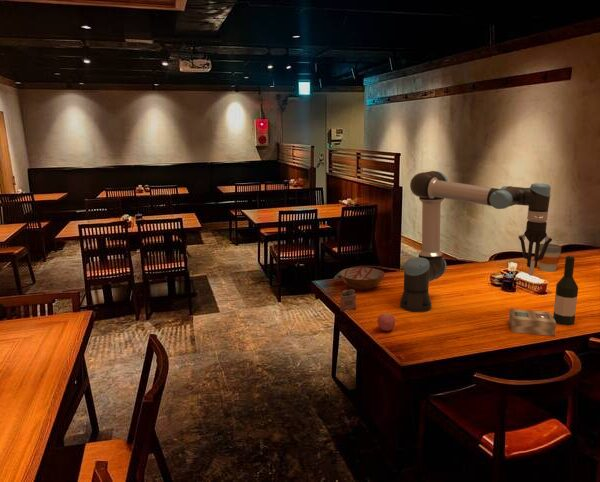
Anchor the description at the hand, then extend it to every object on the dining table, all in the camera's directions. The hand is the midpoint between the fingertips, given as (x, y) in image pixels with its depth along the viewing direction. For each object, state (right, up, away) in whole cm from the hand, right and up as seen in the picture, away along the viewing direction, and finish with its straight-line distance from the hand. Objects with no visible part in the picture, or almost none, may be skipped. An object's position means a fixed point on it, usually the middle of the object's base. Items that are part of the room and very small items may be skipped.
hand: (530, 274), depth 200 cm
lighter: (-76, -19, +25) cm, 82 cm away
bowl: (-65, -11, +60) cm, 89 cm away
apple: (-62, -24, 0) cm, 67 cm away
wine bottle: (+17, -21, +5) cm, 28 cm away
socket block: (-1, -23, -2) cm, 23 cm away
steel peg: (+3, -23, -3) cm, 23 cm away
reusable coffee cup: (+52, -3, +84) cm, 99 cm away
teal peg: (-5, -22, -1) cm, 23 cm away
